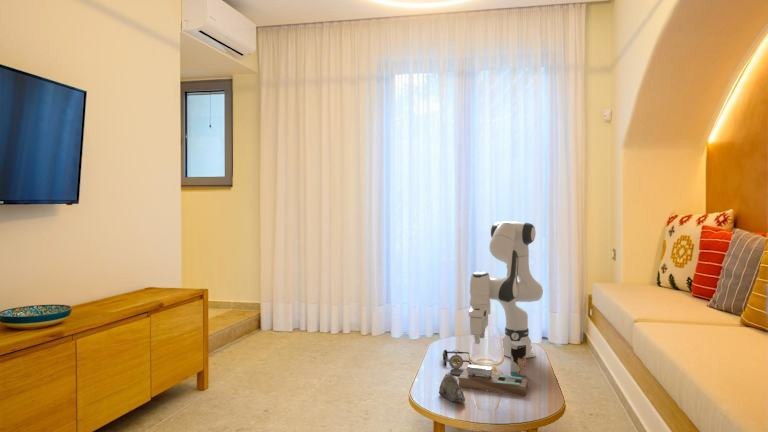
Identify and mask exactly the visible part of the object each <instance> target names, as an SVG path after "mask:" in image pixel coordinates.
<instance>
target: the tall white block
mask: <svg viewBox="0 0 768 432" xmlns="http://www.w3.org/2000/svg"><path fill="white" fill-rule="evenodd" d="M492 368H493V367H491V366H489V367H488V366H484V365H483V366H482V365H476V364H475V365H474V364H472V365H470V364H468V365H467V371H468V374H469V376H470V377H474V374H475V375H482V376H485V379H490V377H491V375H492V374H493V369H492Z"/></svg>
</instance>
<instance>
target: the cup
mask: <svg viewBox="0 0 768 432" xmlns="http://www.w3.org/2000/svg"><path fill="white" fill-rule="evenodd" d="M510 376H514V377H521V378H526V377H527V358H526V343H525V342H521V341H513V342H511V357H510Z"/></svg>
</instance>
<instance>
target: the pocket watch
mask: <svg viewBox="0 0 768 432" xmlns="http://www.w3.org/2000/svg"><path fill="white" fill-rule="evenodd" d="M452 352H455V353H454V355H452V356H451V357H450V358H449V359H448V360H449V362H448V364H449V366H450V367H451V368H452V369H451V370H450V374H451V375H454V376H455V375H456V376H460V375H461V374H462V373H463V371H464V370H465V369H464V370H463V369H461V367H463V364H464V362H463V361H464V359H463V358H462V356H461V355H460V354H459V355H458V354H457V352H460V351H459V350H458V349H454V350H453V351H452ZM458 360H459V362H458Z"/></svg>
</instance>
